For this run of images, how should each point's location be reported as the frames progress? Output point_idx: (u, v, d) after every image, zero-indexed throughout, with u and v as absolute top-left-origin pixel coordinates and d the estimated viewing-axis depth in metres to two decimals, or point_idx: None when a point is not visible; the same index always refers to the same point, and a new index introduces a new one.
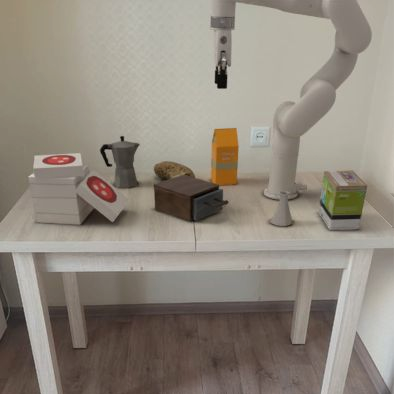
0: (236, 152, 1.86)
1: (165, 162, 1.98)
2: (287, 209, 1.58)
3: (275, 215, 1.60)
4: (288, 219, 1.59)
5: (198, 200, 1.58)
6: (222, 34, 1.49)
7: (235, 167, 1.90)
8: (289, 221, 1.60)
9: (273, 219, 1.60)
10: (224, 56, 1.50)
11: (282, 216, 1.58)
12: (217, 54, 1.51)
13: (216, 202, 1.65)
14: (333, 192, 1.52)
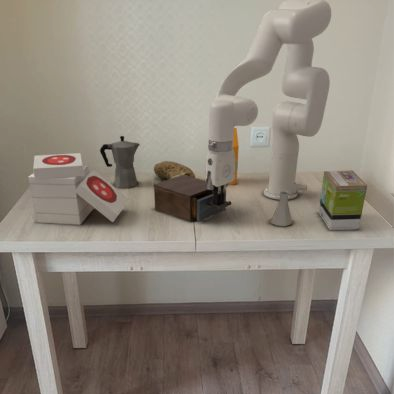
0: (236, 152, 1.86)
1: (165, 162, 1.98)
2: (287, 209, 1.58)
3: (275, 215, 1.60)
4: (288, 219, 1.59)
5: (201, 201, 1.57)
6: (209, 156, 1.48)
7: (235, 167, 1.90)
8: (289, 221, 1.60)
9: (273, 219, 1.60)
10: (209, 183, 1.52)
11: (282, 216, 1.58)
12: (205, 173, 1.52)
13: None
14: (333, 192, 1.52)
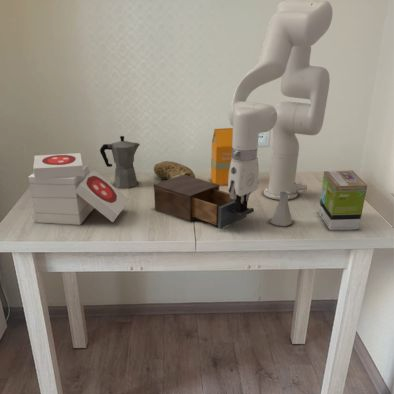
0: None
1: (165, 162, 1.98)
2: (287, 209, 1.58)
3: (275, 215, 1.60)
4: (288, 219, 1.59)
5: (223, 208, 1.52)
6: (233, 165, 1.44)
7: None
8: (289, 221, 1.60)
9: (273, 219, 1.60)
10: (232, 192, 1.48)
11: (282, 216, 1.58)
12: (228, 182, 1.48)
13: None
14: (333, 192, 1.52)
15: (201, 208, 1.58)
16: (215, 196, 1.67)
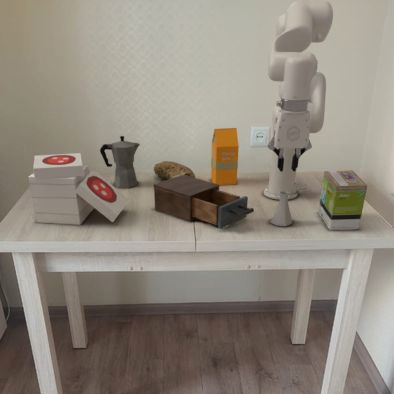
0: (236, 152, 1.86)
1: (165, 162, 1.98)
2: (287, 209, 1.58)
3: (275, 215, 1.60)
4: (288, 219, 1.59)
5: (223, 208, 1.52)
6: (277, 114, 1.43)
7: (235, 167, 1.90)
8: (289, 221, 1.60)
9: (273, 219, 1.60)
10: (271, 141, 1.47)
11: (282, 216, 1.58)
12: None
13: (241, 210, 1.60)
14: (333, 192, 1.52)
15: (201, 208, 1.58)
16: (215, 196, 1.67)
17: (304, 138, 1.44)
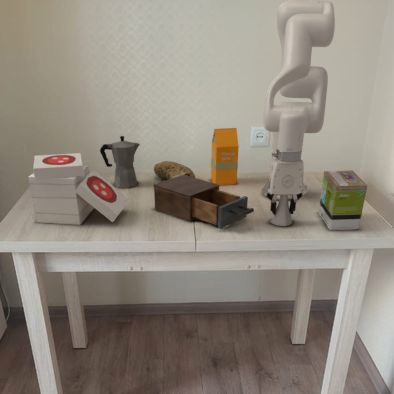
0: (236, 152, 1.86)
1: (165, 162, 1.98)
2: (287, 209, 1.58)
3: (275, 215, 1.60)
4: (288, 219, 1.59)
5: (223, 208, 1.52)
6: (273, 163, 1.51)
7: (235, 167, 1.90)
8: (289, 221, 1.60)
9: (273, 219, 1.60)
10: (265, 186, 1.55)
11: (282, 216, 1.58)
12: None
13: (241, 210, 1.60)
14: (333, 192, 1.52)
15: (201, 208, 1.58)
16: (215, 196, 1.67)
17: (298, 185, 1.52)
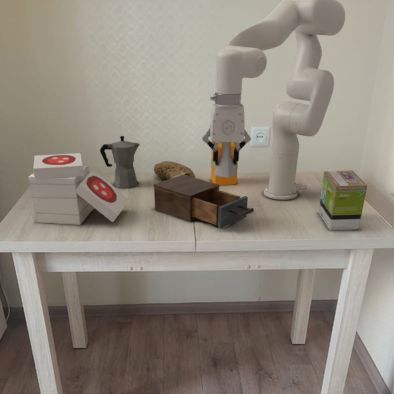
0: None
1: (165, 162, 1.98)
2: (230, 159, 1.50)
3: (218, 166, 1.52)
4: (231, 170, 1.52)
5: (223, 208, 1.52)
6: (212, 108, 1.43)
7: (235, 167, 1.90)
8: (233, 172, 1.52)
9: (216, 170, 1.53)
10: (206, 133, 1.47)
11: (225, 166, 1.51)
12: None
13: (241, 210, 1.60)
14: (333, 192, 1.52)
15: (201, 208, 1.58)
16: (215, 196, 1.67)
17: (239, 132, 1.45)
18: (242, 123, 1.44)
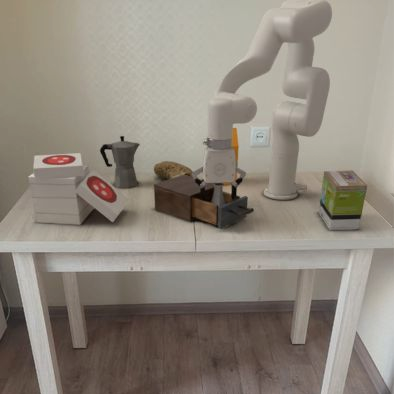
0: (236, 152, 1.86)
1: (165, 162, 1.98)
2: (222, 200, 1.58)
3: None
4: None
5: (223, 208, 1.52)
6: None
7: None
8: None
9: None
10: (196, 170, 1.54)
11: None
12: None
13: (240, 210, 1.60)
14: (333, 192, 1.52)
15: (201, 207, 1.58)
16: None
17: (230, 173, 1.52)
18: (233, 165, 1.51)
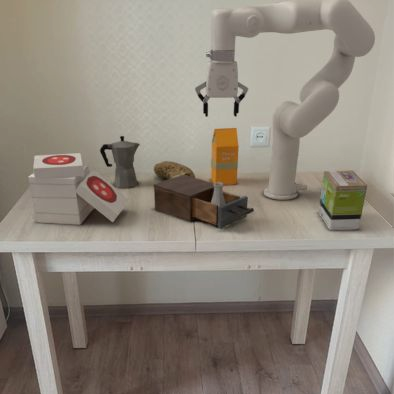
0: (236, 152, 1.86)
1: (165, 162, 1.98)
2: (222, 200, 1.58)
3: None
4: None
5: (223, 208, 1.52)
6: None
7: (235, 167, 1.90)
8: None
9: None
10: (199, 85, 1.57)
11: None
12: None
13: (240, 210, 1.60)
14: (333, 192, 1.52)
15: (201, 207, 1.58)
16: None
17: (233, 87, 1.56)
18: (235, 79, 1.54)
